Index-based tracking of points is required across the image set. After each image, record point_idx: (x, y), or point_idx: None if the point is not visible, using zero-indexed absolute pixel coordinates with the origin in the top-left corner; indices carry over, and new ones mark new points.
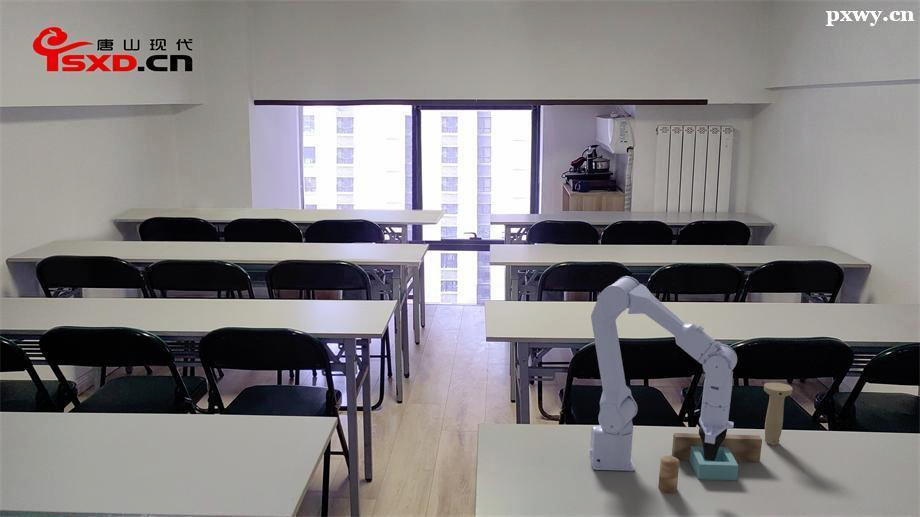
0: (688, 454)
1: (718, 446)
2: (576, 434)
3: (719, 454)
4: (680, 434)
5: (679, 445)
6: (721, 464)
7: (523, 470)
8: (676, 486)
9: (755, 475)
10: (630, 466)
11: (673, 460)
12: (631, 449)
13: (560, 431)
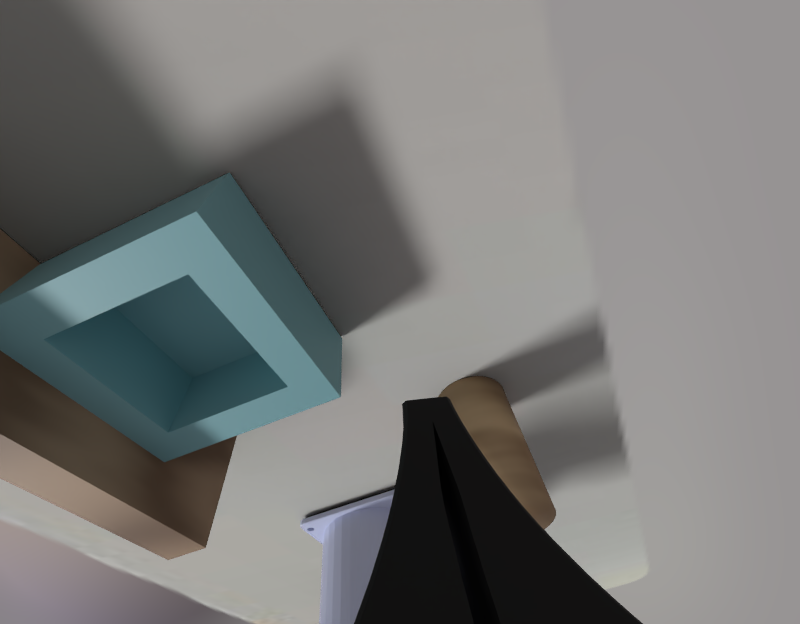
0: None
1: (535, 526)
2: (273, 597)
3: (83, 331)
4: (157, 543)
5: (204, 490)
6: (264, 311)
7: None
8: (490, 395)
9: (45, 50)
10: (387, 503)
11: None
12: (365, 562)
13: (283, 612)
